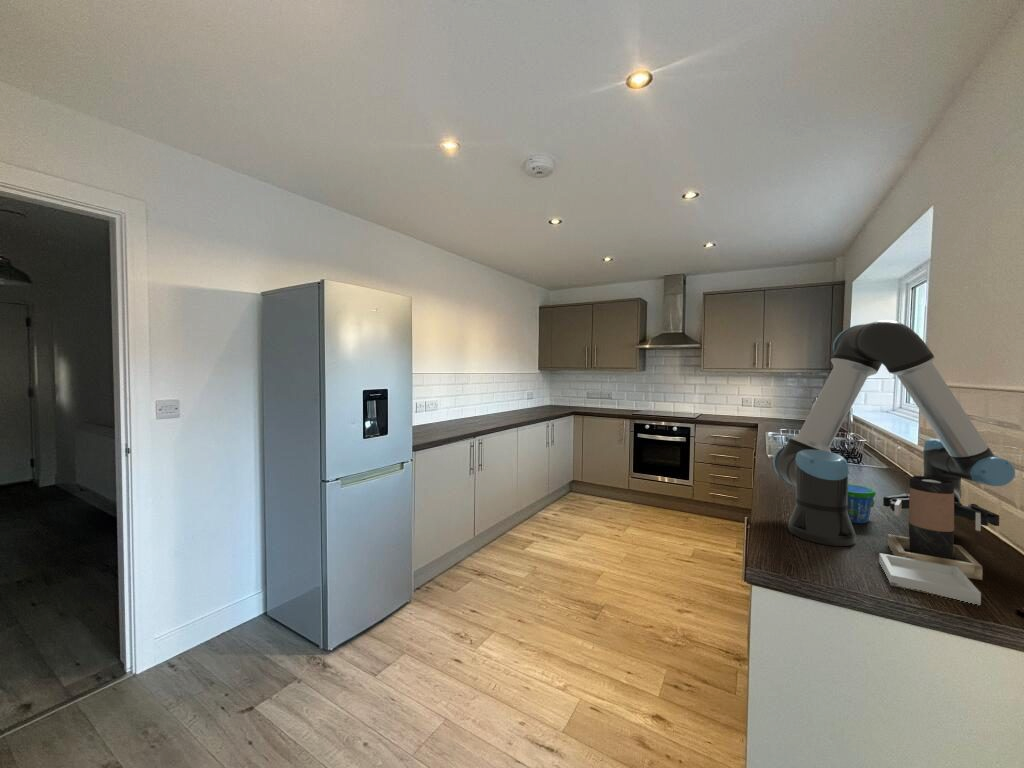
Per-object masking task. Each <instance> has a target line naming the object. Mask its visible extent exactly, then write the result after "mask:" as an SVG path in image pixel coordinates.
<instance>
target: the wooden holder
mask: <svg viewBox="0 0 1024 768" xmlns="http://www.w3.org/2000/svg"><path fill="white" fill-rule="evenodd" d="M887 546H889V547H888V548H889V550H890V551H892V552H891V553H892V555H893V556H899V557H904V558H910V559H915V560H921V561H926V562H932V563H937V564H943V565H948V566H954V567H958V568H959V569H960V570H961V571H962V573H963V574H964V575H965V576H966V577H967V578H968V579H974V580H981V581H983V570H984V569H983V565H982V564H980V563H979V562H978V561H977V560H976V559H975V558H974V557H973V556H972V555H971V554H970V553H969V552H968V551H967V550H966V549H965V548H964V547H962V545H960V544H959V545H958V544H954V543H953V560H951V559H945V558H939V557H934V556H928V555H922V554H916V553H911V552H910V542H909V536H904V535H903V536H902V535H896V534H889V533H887ZM905 549H907V550H905Z"/></svg>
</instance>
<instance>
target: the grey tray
mask: <svg viewBox="0 0 1024 768" xmlns="http://www.w3.org/2000/svg"><path fill="white" fill-rule="evenodd" d="M878 555H879V561H878V562H879V563H880V564H879V566H880V565H881V566H880V568H881V567H882V568H881V570H882V569H883V570H884V572H885V574H886V576H887V578H888V580H889V582H890V583H891V584H892V585H896V586H902V587H906V588H911V589H917V590H922V591H926V592H929V593H933V594H937V595H941V596H945V597H949V598H953V599H957V600H960V601H959V602H961V601H964V602H963V603H966V602H968V603H967V604H970V603H972V605H975V604H977V605H976V606H980V605H982V592H981V591H980V590H979V589H978V588H977V587H976V586H975V585H974V583H973V582H972V581H971V580H970V578H968V577H966V576H965V575H964V574H963V573H962V571H961V570H960V569H959V568H958V567H954V566H948V565H943V564H937V563H932V562H926V561H921V560H915V559H910V558H904V557H899V556H894V555H893V554H887V553H881V552H879V553H878ZM883 570H882V571H883ZM884 572H883V573H884ZM885 574H884V575H885ZM886 576H885V577H886ZM887 578H886V579H887ZM888 580H887V581H888ZM889 582H888V583H889Z"/></svg>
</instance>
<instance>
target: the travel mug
mask: <svg viewBox="0 0 1024 768" xmlns="http://www.w3.org/2000/svg"><path fill="white" fill-rule="evenodd" d="M908 494H909V509H908V537H909V542H910V550H909V552H911V553H916V554H922V555H928V556H934V557H939V558H945V559H951V560H954V558H953V544H954V540H955V516H954V482H952V481H950V480H946V479H941V478H935V477H927V476H923V475H912V476H911V477H909V493H908Z"/></svg>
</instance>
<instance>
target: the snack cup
mask: <svg viewBox="0 0 1024 768" xmlns="http://www.w3.org/2000/svg"><path fill="white" fill-rule="evenodd" d="M876 495H877V494H876V491H875V490H874V489H873V488H869V487H867V486H862V485H858V484H857V485H856V484H849V483H848V505H847V509H848V515H849V518H850V520H851V523H852V524H866V523H868V522H869V520H870V516H871V510H872V508H873V507H874V506H875V500H874V497H875V496H876Z"/></svg>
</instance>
